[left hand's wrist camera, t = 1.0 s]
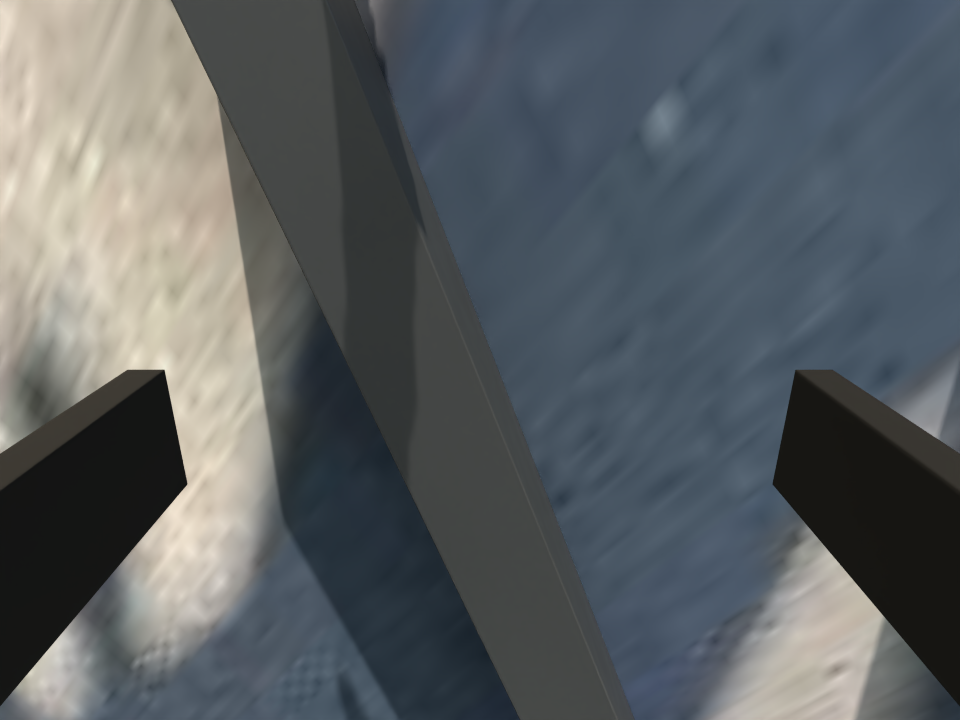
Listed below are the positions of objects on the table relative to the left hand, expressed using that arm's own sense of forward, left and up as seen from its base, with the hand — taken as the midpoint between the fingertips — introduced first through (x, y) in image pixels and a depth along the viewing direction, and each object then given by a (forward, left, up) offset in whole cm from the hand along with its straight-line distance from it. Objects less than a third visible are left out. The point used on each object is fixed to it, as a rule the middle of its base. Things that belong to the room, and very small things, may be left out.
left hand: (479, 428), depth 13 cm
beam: (+14, +17, -19) cm, 29 cm away
